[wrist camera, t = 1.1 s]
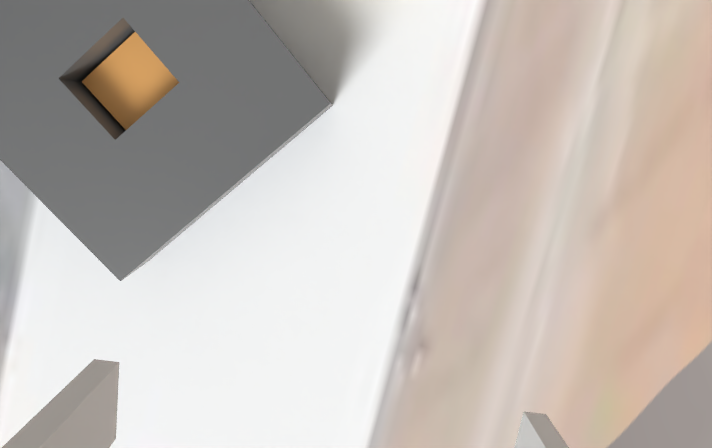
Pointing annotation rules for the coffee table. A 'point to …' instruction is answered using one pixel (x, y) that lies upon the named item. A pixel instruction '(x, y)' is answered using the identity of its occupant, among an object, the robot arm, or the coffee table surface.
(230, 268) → the coffee table surface
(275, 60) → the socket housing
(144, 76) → the orange flat square block
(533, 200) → the coffee table surface
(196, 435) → the coffee table surface
